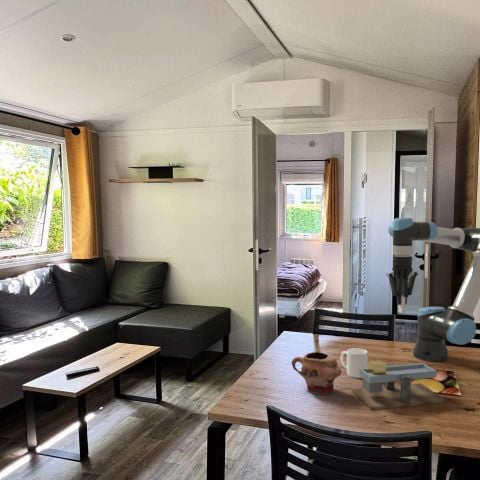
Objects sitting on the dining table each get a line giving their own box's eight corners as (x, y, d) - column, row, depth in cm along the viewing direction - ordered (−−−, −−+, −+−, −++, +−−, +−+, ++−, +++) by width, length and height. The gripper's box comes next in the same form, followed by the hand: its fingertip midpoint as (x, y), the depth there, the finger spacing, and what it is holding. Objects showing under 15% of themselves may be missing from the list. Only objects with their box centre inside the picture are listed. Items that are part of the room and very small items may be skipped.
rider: (380, 372, 177) (380, 360, 177) (386, 376, 173) (386, 364, 172) (368, 373, 176) (368, 361, 176) (374, 377, 172) (374, 365, 172)
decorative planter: (286, 391, 184) (285, 356, 182) (296, 380, 195) (295, 347, 193) (337, 400, 175) (337, 362, 174) (345, 388, 186) (345, 353, 185)
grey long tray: (422, 378, 184) (422, 362, 183) (436, 388, 174) (437, 371, 174) (359, 384, 179) (359, 368, 178) (370, 394, 170) (370, 377, 169)
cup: (361, 379, 194) (361, 355, 193) (335, 373, 202) (335, 349, 202) (370, 374, 200) (371, 350, 200) (345, 367, 208) (345, 345, 208)
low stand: (421, 385, 187) (421, 360, 187) (445, 402, 172) (446, 375, 171) (351, 391, 182) (351, 366, 181) (370, 409, 167) (370, 381, 166)
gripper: (412, 254, 201) (411, 309, 203) (383, 255, 198) (382, 311, 200) (422, 256, 193) (421, 313, 195) (392, 257, 191) (391, 315, 193)
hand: (401, 312), depth 198 cm, fingers closed
